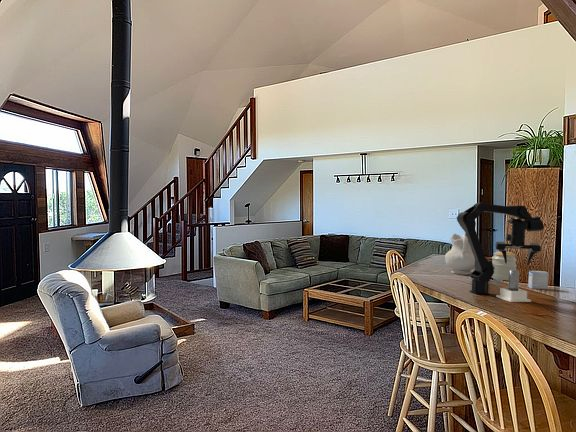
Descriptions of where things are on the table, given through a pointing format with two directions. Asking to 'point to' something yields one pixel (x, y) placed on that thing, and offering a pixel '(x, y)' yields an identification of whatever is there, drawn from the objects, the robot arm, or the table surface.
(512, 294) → the socket
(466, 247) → the ceramic pitcher
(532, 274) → the medicine box
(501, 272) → the jar
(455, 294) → the table surface
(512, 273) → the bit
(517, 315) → the table surface
